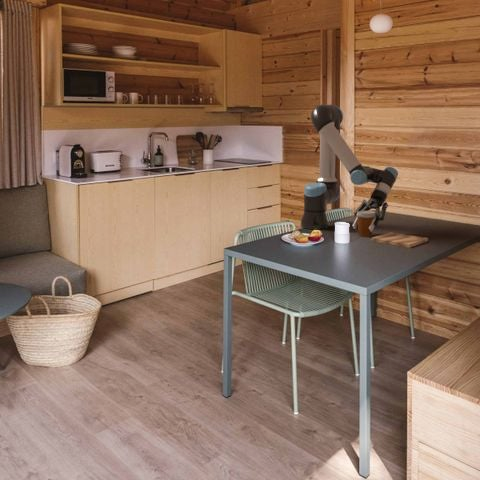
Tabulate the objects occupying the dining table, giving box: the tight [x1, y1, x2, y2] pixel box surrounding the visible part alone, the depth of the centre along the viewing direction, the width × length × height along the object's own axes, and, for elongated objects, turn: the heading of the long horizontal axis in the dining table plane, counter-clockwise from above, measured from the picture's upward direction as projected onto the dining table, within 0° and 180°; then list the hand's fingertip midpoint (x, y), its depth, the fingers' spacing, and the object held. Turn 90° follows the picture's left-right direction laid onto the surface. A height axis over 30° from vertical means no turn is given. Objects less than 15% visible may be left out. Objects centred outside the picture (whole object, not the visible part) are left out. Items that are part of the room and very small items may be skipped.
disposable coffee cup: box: [356, 210, 376, 238], centre depth 279 cm, size 10×10×12 cm
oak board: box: [370, 232, 429, 249], centre depth 267 cm, size 20×18×2 cm
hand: (362, 228), depth 277 cm, fingers closed on disposable coffee cup, 9 cm apart
